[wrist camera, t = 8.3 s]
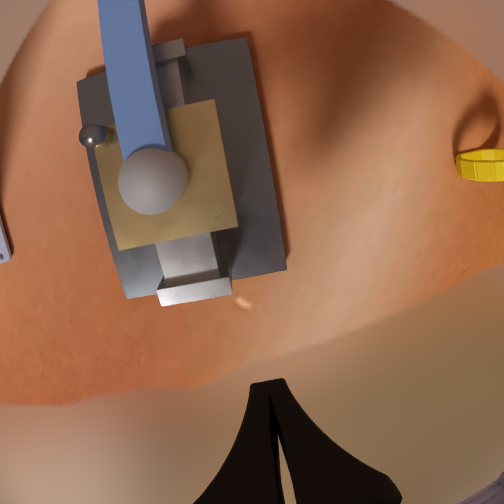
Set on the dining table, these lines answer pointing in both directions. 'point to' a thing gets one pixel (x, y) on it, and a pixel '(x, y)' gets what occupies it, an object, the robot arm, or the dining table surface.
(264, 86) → the dining table surface
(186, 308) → the dining table surface
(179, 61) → the valve
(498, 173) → the watch
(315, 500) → the robot arm
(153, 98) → the lever
